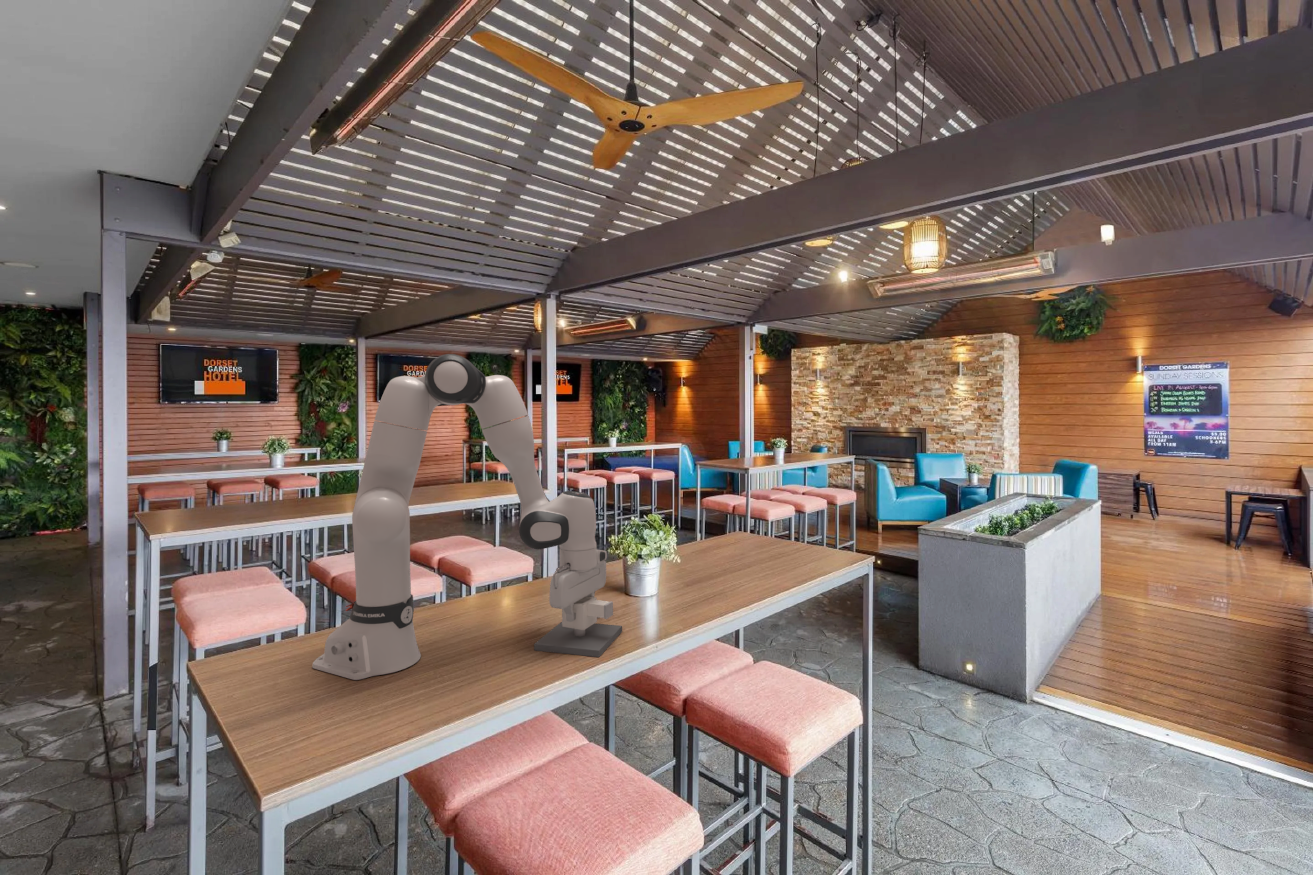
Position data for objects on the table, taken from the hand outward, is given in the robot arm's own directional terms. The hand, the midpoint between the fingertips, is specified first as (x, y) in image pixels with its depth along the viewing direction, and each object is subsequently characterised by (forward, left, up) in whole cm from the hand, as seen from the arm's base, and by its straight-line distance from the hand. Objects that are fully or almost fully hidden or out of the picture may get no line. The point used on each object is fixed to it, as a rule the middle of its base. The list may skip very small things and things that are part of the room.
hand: (579, 615), depth 145 cm
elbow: (+3, 0, -2) cm, 3 cm away
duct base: (0, -1, -6) cm, 6 cm away
